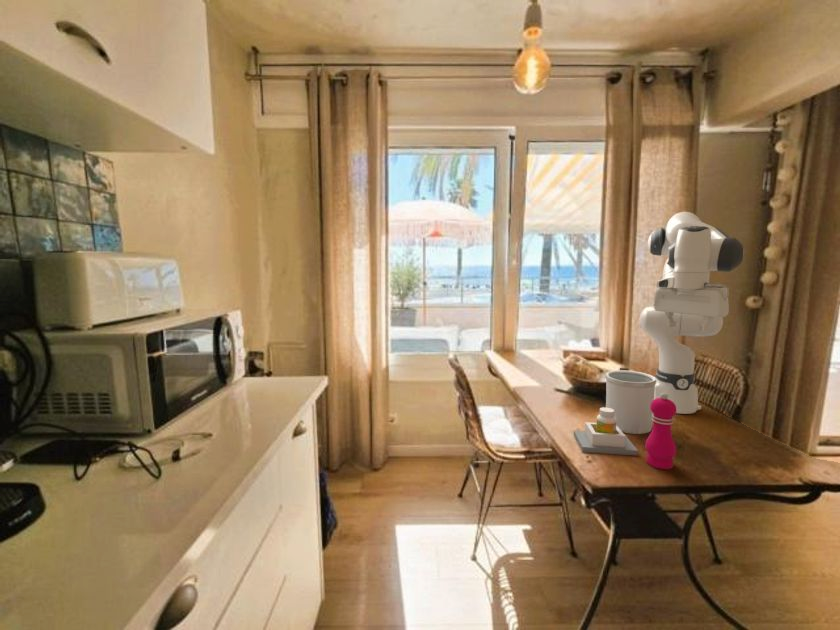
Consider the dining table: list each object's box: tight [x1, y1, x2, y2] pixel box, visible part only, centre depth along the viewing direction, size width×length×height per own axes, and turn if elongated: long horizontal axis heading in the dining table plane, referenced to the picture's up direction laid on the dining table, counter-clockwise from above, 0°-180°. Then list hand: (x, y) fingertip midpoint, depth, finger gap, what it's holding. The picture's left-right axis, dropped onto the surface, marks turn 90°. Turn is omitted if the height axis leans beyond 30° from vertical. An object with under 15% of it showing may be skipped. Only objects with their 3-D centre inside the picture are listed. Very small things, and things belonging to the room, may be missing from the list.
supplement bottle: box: [596, 406, 616, 434], centre depth 117 cm, size 5×5×10 cm
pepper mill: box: [644, 393, 677, 470], centre depth 105 cm, size 7×7×20 cm
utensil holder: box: [605, 369, 656, 435], centre depth 131 cm, size 15×15×18 cm
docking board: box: [573, 421, 639, 456], centre depth 118 cm, size 12×15×5 cm
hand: (686, 329), depth 115 cm, fingers open, 8 cm apart
